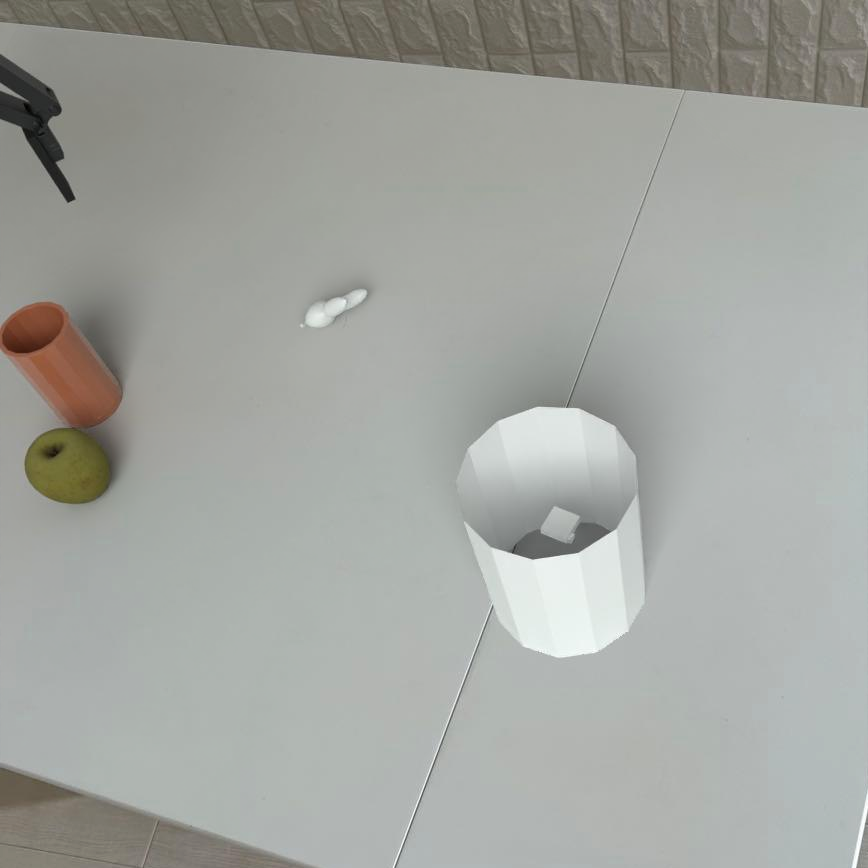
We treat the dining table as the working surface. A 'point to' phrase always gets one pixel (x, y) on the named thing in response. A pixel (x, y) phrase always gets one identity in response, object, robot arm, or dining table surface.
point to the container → (556, 527)
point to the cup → (60, 364)
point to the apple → (67, 466)
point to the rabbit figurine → (332, 309)
